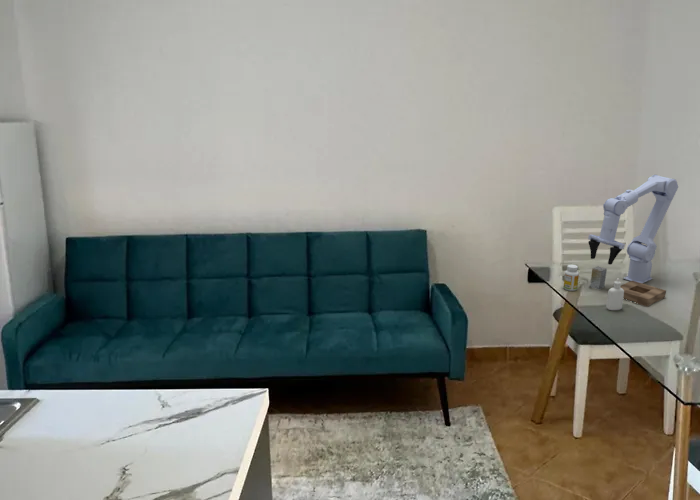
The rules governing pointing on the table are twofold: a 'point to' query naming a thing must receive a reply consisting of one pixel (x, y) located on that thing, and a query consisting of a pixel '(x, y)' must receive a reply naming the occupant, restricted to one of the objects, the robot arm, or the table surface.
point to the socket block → (642, 293)
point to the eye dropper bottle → (615, 297)
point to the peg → (598, 277)
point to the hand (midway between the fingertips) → (601, 261)
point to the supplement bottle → (571, 278)
